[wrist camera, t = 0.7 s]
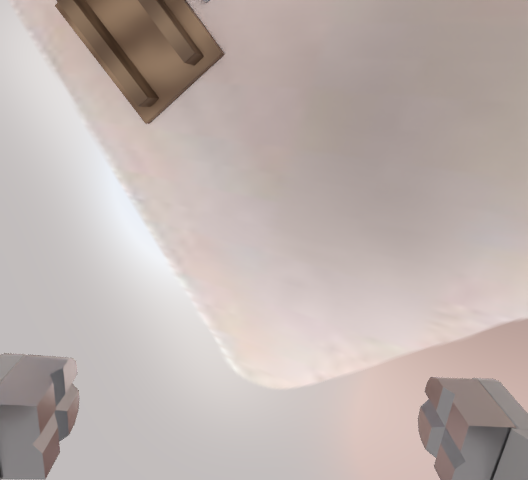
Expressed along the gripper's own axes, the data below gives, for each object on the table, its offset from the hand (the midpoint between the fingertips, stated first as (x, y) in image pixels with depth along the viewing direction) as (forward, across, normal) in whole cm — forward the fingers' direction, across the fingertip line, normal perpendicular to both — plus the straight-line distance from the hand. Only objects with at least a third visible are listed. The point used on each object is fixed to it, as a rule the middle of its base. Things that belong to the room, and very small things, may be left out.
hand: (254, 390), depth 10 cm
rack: (+44, +13, -12) cm, 47 cm away
